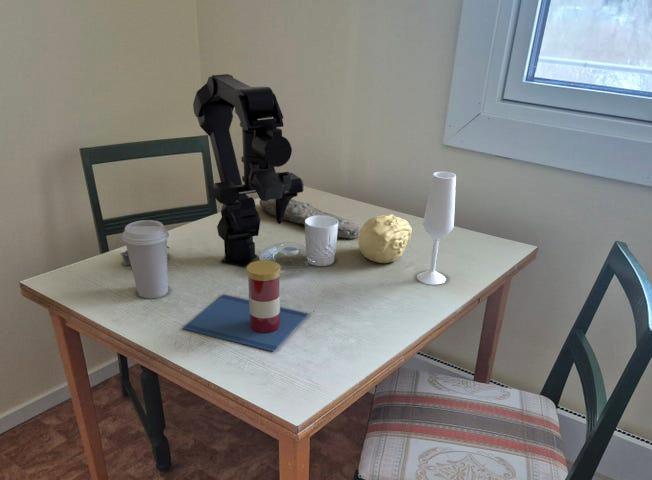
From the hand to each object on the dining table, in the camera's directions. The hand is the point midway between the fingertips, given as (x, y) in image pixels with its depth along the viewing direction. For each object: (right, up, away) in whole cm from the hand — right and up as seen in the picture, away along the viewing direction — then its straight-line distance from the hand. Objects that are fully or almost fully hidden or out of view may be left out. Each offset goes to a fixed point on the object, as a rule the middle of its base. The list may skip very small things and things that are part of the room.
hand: (259, 226), depth 139 cm
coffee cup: (-24, -14, +2) cm, 28 cm away
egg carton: (-28, -5, +16) cm, 33 cm away
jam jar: (+2, -22, -11) cm, 25 cm away
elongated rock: (+11, +9, +38) cm, 40 cm away
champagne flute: (+39, -10, +9) cm, 42 cm away
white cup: (+14, -5, +17) cm, 22 cm away
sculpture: (+29, -4, +19) cm, 35 cm away
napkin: (-2, -21, -9) cm, 23 cm away
